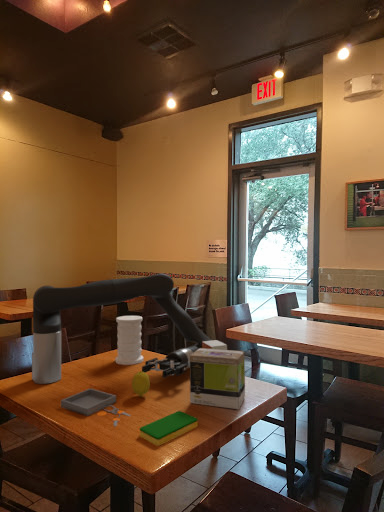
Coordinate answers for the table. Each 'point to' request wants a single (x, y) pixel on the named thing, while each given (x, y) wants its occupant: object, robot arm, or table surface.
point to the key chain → (113, 413)
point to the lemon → (140, 383)
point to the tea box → (217, 378)
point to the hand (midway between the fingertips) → (152, 372)
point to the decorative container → (129, 340)
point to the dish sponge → (168, 428)
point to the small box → (214, 345)
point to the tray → (88, 401)
